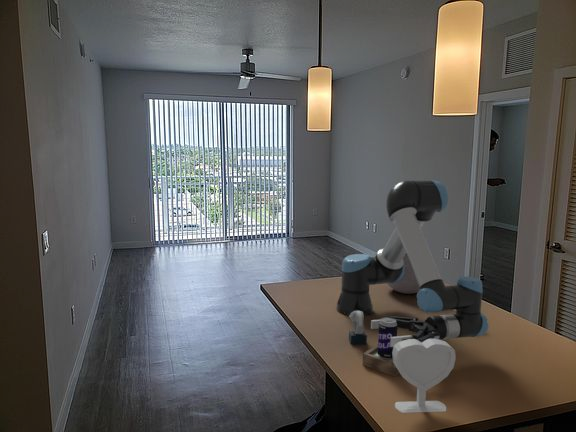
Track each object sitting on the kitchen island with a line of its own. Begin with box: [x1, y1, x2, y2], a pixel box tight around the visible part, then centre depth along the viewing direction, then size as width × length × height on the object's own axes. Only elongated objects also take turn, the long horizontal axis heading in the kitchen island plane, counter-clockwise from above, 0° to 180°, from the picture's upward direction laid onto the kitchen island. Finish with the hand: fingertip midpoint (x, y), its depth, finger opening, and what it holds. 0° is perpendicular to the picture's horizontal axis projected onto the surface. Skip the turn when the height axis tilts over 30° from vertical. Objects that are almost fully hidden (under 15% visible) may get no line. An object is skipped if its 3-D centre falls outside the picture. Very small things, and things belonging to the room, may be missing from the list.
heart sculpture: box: [392, 339, 457, 414], centre depth 114 cm, size 16×5×18 cm, turn 94°
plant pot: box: [387, 254, 421, 295], centre depth 212 cm, size 24×24×30 cm
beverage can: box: [377, 316, 398, 360], centre depth 137 cm, size 6×6×12 cm
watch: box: [348, 311, 368, 345], centre depth 155 cm, size 6×8×11 cm
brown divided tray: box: [362, 343, 400, 377], centre depth 142 cm, size 11×19×4 cm, turn 140°
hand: (380, 332), depth 137 cm, fingers open, 13 cm apart
